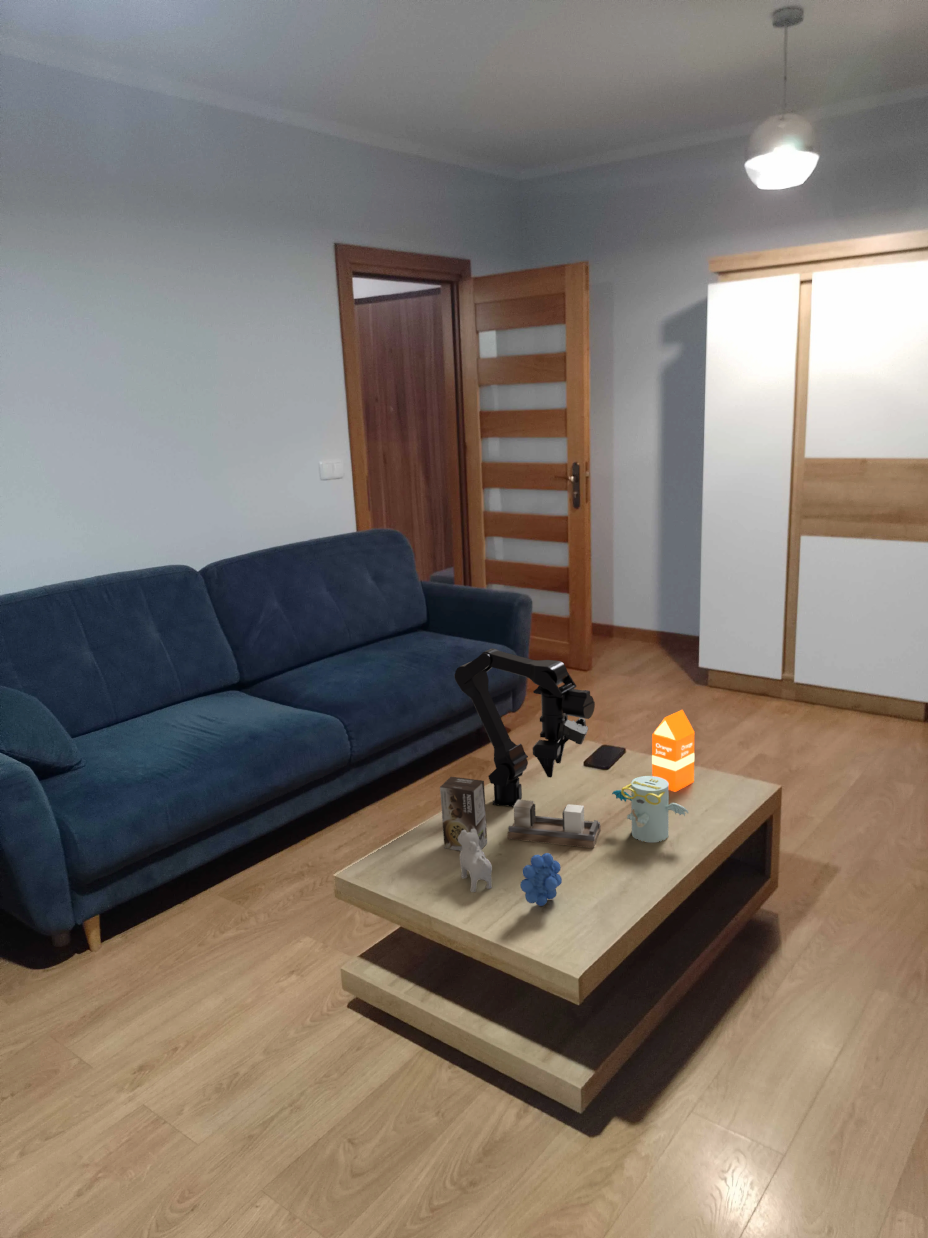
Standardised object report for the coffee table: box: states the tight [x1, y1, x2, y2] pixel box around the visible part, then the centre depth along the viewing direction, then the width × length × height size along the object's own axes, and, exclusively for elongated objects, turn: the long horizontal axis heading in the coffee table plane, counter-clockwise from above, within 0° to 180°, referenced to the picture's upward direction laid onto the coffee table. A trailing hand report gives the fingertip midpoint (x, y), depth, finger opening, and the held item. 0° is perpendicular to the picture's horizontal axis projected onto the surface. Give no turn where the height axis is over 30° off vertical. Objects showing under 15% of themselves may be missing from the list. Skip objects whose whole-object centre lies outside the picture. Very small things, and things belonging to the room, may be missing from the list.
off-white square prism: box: [562, 803, 585, 833], centre depth 220 cm, size 4×4×6 cm
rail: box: [507, 799, 602, 849], centre depth 222 cm, size 21×9×8 cm, turn 71°
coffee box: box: [439, 776, 488, 852], centre depth 218 cm, size 9×6×16 cm
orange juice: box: [651, 709, 695, 793], centre depth 246 cm, size 8×9×20 cm
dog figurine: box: [458, 829, 493, 893], centre depth 203 cm, size 5×13×11 cm, turn 20°
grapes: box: [520, 852, 563, 907], centre depth 190 cm, size 12×7×12 cm, turn 132°
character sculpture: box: [611, 775, 689, 843], centre depth 218 cm, size 20×12×13 cm, turn 52°
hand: (554, 770), depth 231 cm, fingers open, 9 cm apart
